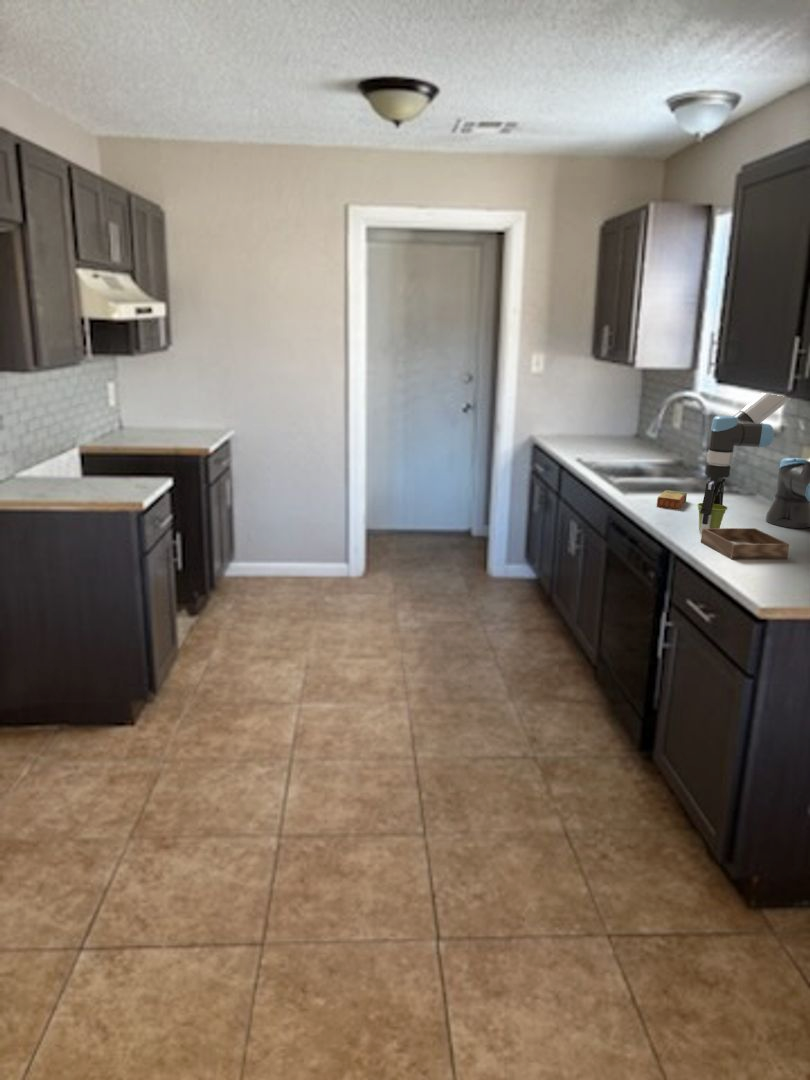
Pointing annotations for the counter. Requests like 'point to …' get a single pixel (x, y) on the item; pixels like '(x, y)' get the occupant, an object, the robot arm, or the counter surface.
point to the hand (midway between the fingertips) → (708, 530)
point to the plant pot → (713, 515)
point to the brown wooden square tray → (744, 543)
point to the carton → (671, 499)
